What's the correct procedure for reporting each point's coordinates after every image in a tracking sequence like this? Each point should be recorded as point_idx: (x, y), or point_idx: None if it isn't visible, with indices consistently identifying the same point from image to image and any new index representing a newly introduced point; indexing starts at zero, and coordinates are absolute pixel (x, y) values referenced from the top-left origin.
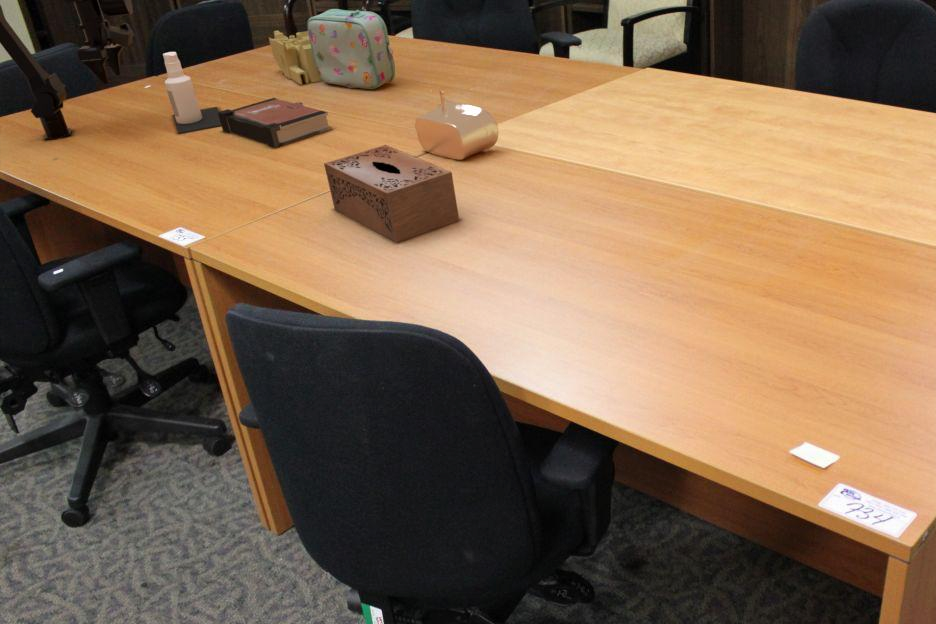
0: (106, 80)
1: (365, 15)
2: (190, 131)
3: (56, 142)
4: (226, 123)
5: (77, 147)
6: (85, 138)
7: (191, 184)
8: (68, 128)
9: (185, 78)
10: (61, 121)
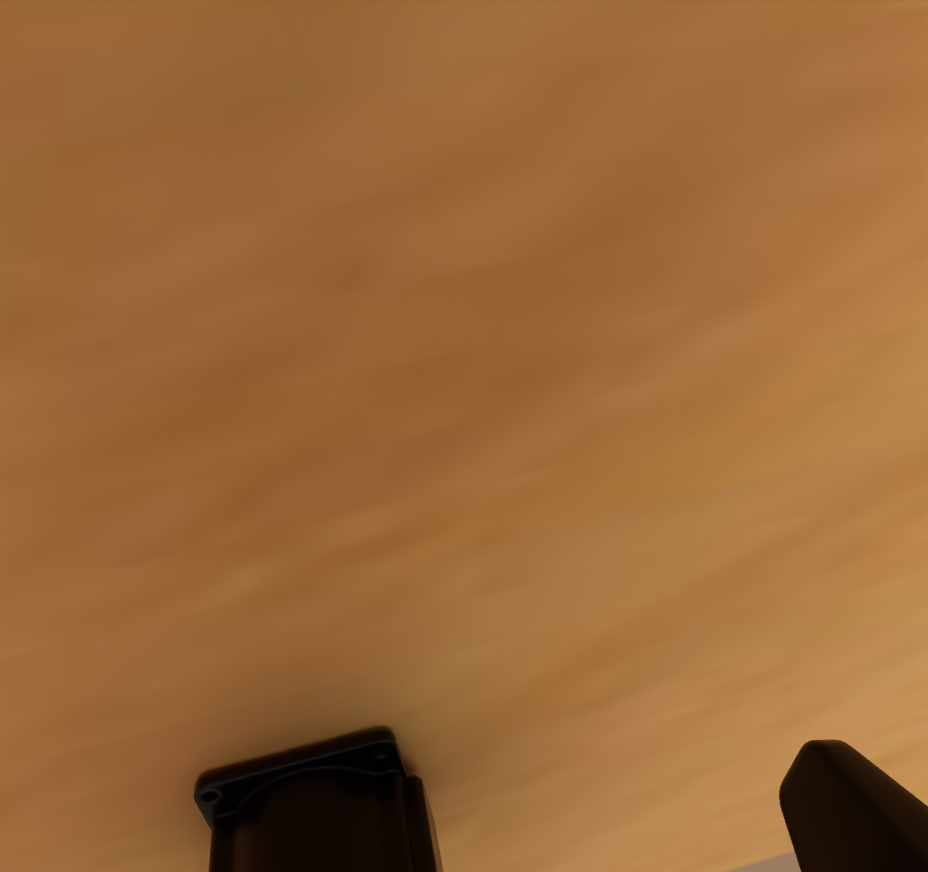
0: (915, 811)
1: None
2: None
3: (511, 761)
4: None
5: (757, 590)
6: (524, 604)
7: None
8: (200, 799)
9: None
10: (367, 866)
